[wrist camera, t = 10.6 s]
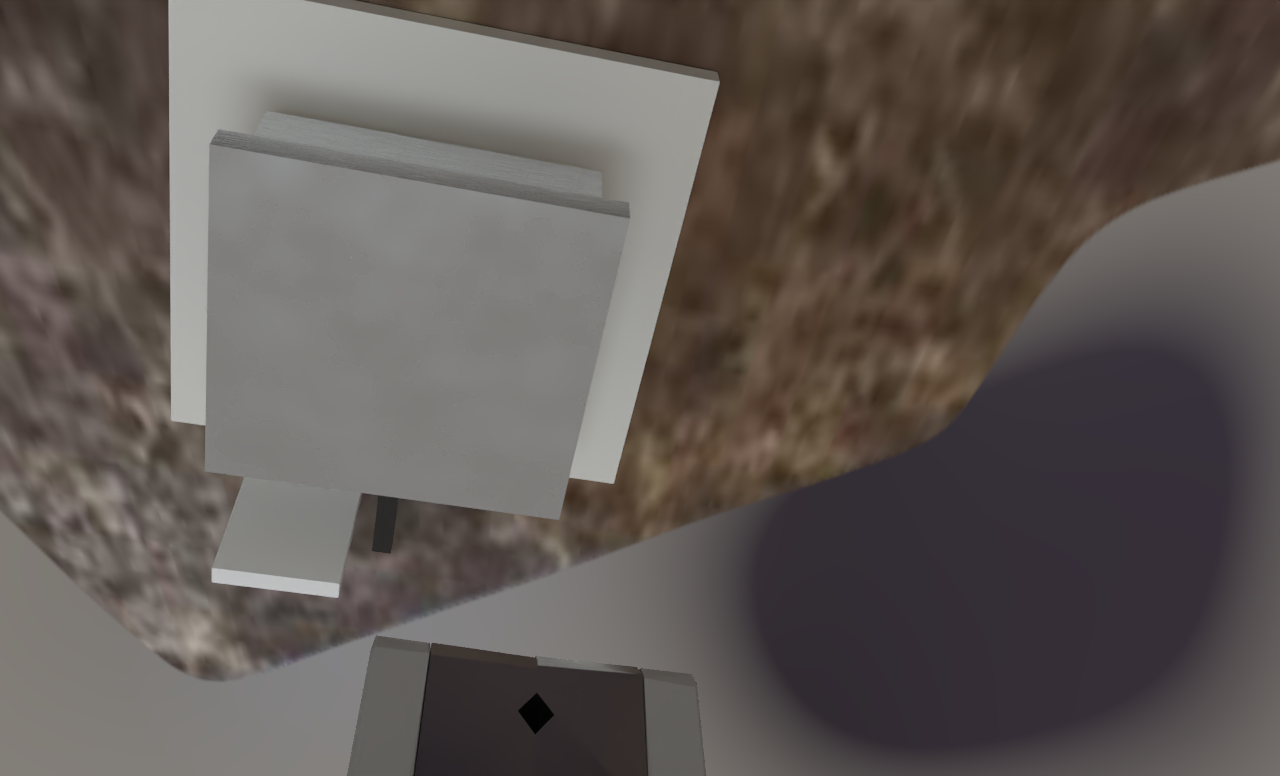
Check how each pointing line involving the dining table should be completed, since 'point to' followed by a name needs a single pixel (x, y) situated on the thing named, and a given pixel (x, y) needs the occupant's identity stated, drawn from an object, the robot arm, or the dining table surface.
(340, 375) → the pan
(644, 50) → the dining table surface
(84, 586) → the dining table surface
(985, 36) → the dining table surface
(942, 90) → the dining table surface
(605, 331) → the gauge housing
